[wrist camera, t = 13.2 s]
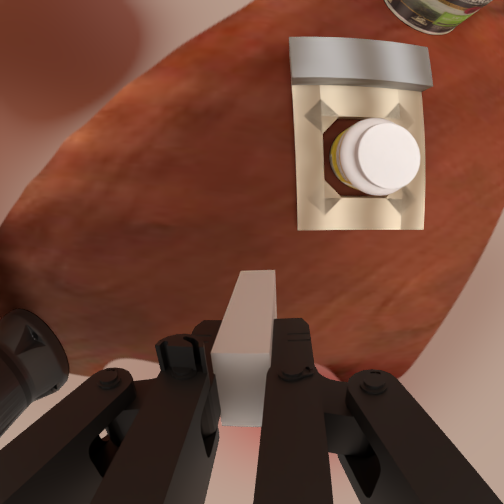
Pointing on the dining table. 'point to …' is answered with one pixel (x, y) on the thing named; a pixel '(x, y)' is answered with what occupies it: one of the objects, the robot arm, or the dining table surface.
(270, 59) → the dining table surface
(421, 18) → the coffee can
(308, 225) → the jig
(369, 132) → the pill bottle
